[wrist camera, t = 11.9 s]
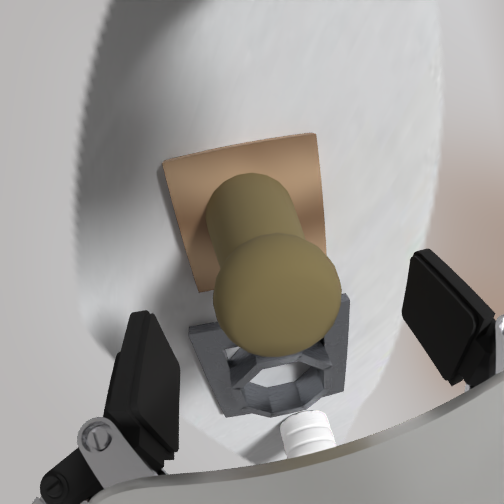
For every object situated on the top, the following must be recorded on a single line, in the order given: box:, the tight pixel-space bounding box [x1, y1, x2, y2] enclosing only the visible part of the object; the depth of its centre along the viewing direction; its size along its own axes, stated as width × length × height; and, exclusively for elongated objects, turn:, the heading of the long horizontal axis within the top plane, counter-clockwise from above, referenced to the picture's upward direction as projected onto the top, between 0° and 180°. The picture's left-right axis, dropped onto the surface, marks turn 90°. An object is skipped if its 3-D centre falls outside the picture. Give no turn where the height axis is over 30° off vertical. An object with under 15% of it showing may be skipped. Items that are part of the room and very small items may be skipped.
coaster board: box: [162, 133, 326, 293], centre depth 21 cm, size 10×10×1 cm
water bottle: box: [280, 410, 337, 459], centre depth 25 cm, size 9×6×25 cm
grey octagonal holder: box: [189, 293, 350, 418], centre depth 27 cm, size 14×14×4 cm
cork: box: [205, 173, 342, 357], centre depth 16 cm, size 6×6×11 cm
